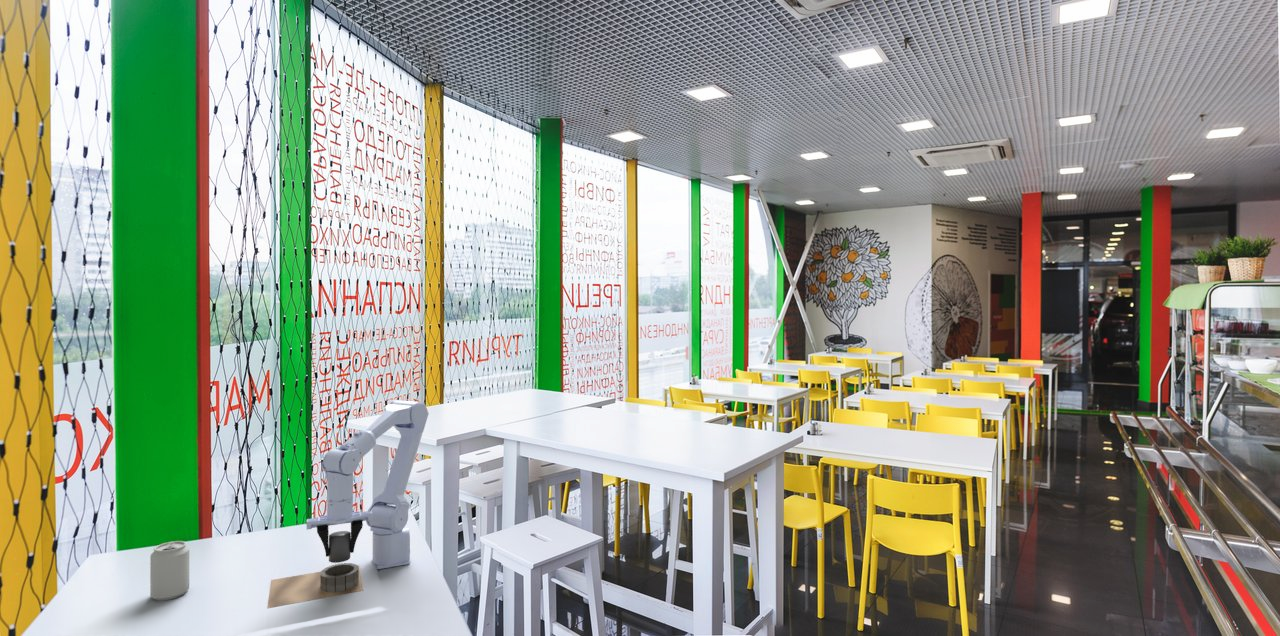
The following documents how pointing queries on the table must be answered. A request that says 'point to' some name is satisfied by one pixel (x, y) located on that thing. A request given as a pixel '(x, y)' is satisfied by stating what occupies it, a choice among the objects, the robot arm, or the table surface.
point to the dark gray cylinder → (339, 546)
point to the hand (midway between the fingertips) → (339, 553)
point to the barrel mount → (316, 585)
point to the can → (169, 570)
